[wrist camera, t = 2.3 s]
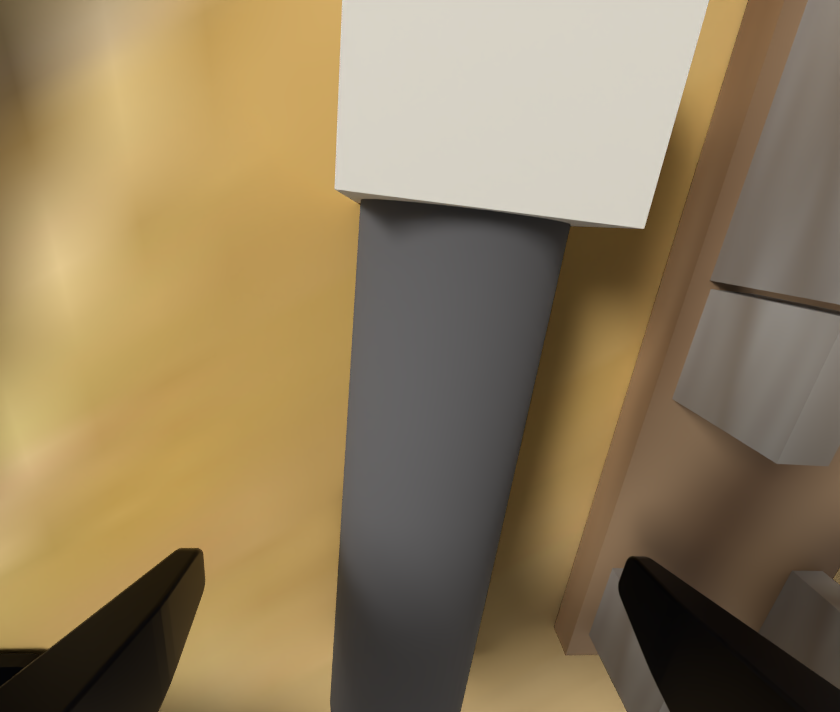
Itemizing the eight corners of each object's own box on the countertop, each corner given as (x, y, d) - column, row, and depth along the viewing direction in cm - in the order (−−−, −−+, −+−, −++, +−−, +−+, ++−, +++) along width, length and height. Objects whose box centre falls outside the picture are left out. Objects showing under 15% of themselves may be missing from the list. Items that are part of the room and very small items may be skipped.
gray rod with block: (454, 626, 14) (483, 793, 10) (332, 627, 14) (309, 803, 10) (576, 9, 8) (763, -195, 4) (370, -31, 8) (354, -308, 4)
